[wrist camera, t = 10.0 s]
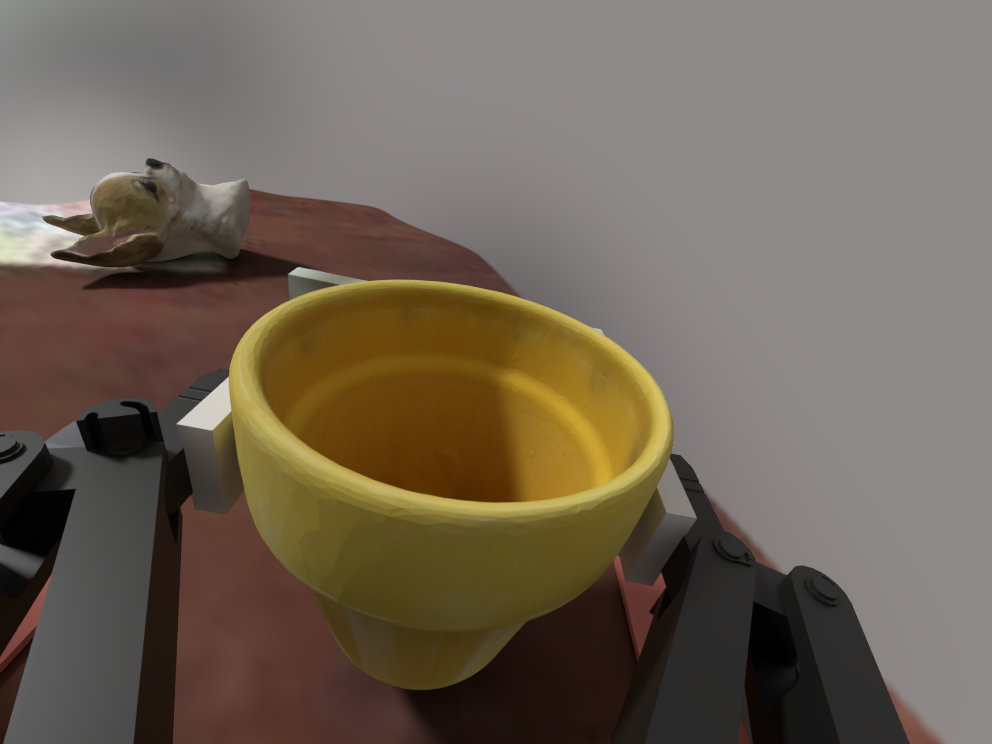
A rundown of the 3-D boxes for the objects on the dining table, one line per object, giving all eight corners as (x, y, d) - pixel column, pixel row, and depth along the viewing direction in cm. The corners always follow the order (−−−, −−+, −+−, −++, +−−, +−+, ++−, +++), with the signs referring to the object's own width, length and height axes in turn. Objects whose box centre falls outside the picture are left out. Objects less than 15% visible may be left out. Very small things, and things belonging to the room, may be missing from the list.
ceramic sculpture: (265, 175, 37) (15, 170, 28) (277, 271, 42) (66, 295, 32) (227, 150, 43) (11, 140, 34) (241, 237, 48) (55, 249, 38)
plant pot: (363, 451, 21) (377, 250, 16) (573, 522, 20) (658, 331, 15) (175, 687, 12) (68, 394, 7) (541, 839, 11) (730, 627, 6)
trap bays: (-352, 780, 10) (-406, 755, 9) (83, 445, 20) (74, 420, 20) (849, 900, 13) (883, 888, 12) (696, 548, 23) (709, 529, 22)
